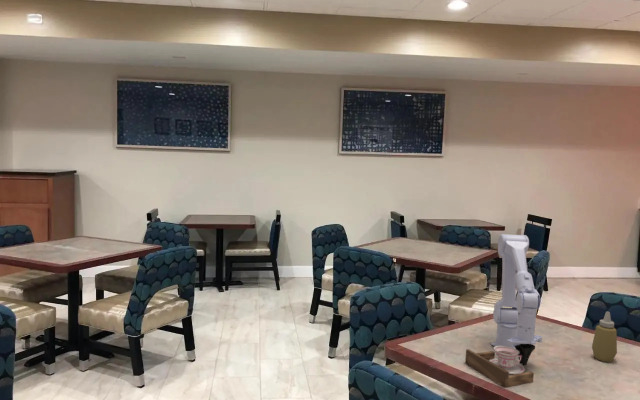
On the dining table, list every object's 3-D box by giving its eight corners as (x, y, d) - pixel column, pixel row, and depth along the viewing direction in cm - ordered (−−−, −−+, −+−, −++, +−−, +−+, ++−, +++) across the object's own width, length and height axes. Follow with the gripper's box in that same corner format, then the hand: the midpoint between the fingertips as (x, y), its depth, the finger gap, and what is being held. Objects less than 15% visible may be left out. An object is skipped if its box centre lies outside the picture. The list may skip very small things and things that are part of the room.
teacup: (484, 369, 160) (485, 351, 159) (491, 357, 170) (492, 340, 170) (521, 378, 154) (523, 360, 153) (526, 365, 164) (527, 348, 163)
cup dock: (491, 358, 169) (492, 345, 168) (533, 381, 152) (534, 367, 151) (465, 363, 164) (466, 349, 163) (504, 387, 147) (505, 372, 147)
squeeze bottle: (612, 356, 176) (617, 310, 174) (618, 365, 168) (623, 316, 166) (588, 353, 178) (593, 307, 177) (593, 361, 171) (598, 313, 169)
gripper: (519, 332, 154) (516, 371, 156) (550, 327, 160) (547, 365, 161) (503, 325, 161) (500, 363, 162) (534, 321, 167) (530, 357, 168)
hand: (522, 363), depth 162 cm, fingers closed
